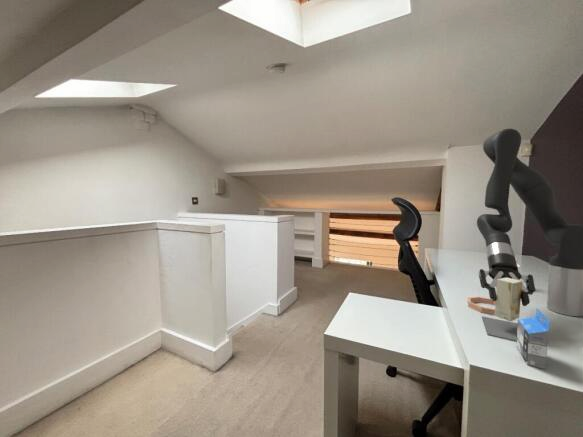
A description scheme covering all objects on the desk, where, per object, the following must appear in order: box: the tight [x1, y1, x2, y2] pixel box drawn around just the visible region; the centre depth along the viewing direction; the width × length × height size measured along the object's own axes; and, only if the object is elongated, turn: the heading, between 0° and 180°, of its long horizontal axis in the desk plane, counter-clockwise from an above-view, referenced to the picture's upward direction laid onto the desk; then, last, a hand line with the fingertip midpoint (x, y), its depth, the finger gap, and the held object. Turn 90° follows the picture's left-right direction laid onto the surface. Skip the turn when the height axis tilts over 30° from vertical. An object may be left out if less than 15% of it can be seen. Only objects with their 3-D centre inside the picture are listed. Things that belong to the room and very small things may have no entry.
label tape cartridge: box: [516, 308, 551, 370], centre depth 63 cm, size 9×4×12 cm, turn 150°
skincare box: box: [494, 277, 523, 322], centre depth 77 cm, size 6×4×12 cm
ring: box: [466, 296, 496, 316], centre depth 94 cm, size 13×13×2 cm
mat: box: [481, 315, 518, 343], centre depth 77 cm, size 12×14×1 cm
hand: (509, 302), depth 75 cm, fingers closed on skincare box, 7 cm apart
